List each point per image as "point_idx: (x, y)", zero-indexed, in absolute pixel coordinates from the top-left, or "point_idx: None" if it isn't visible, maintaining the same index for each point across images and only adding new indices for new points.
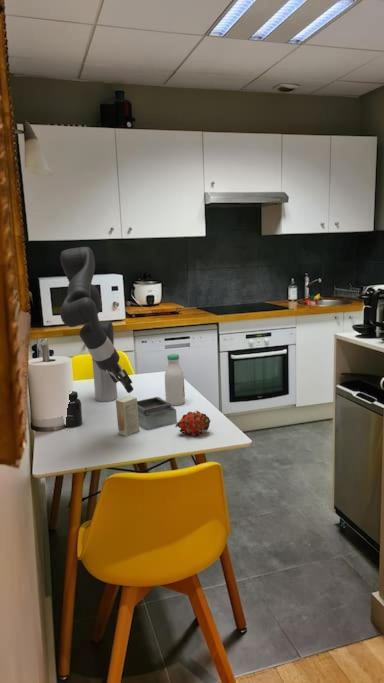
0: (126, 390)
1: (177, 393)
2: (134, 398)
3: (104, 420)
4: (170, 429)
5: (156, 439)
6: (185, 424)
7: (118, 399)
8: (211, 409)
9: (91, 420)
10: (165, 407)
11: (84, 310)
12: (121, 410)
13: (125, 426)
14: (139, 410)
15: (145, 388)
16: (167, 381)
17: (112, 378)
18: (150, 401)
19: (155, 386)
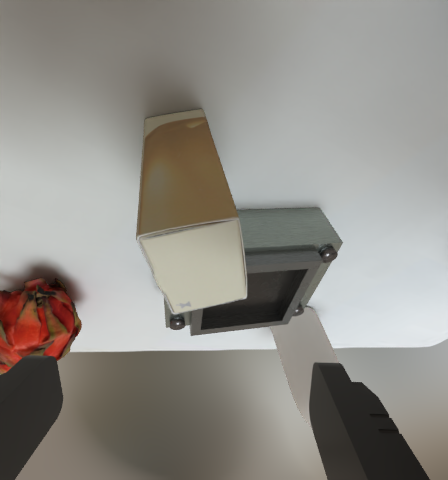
0: (8, 383)
1: (282, 349)
2: (171, 305)
3: (384, 130)
4: (119, 264)
5: (37, 202)
6: (11, 313)
7: (234, 237)
8: (194, 349)
9: (444, 82)
10: (190, 316)
11: None
12: (161, 187)
13: (143, 144)
14: None
15: (429, 302)
16: None
17: (346, 440)
18: (284, 301)
19: (412, 316)
